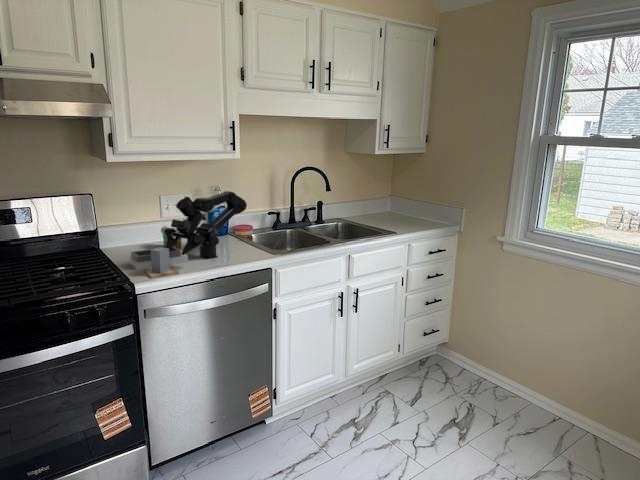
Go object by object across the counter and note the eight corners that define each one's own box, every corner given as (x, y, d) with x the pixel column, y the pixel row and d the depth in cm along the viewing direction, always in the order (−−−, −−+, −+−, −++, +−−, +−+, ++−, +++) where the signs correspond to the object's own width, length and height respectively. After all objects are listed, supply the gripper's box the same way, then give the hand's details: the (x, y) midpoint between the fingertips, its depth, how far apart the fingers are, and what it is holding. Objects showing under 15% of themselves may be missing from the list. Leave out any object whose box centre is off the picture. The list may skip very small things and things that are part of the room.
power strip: (180, 257, 212) (180, 245, 211) (188, 262, 205) (187, 250, 204) (130, 264, 199) (129, 252, 198) (136, 269, 192) (135, 257, 191)
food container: (156, 247, 228) (155, 227, 226) (166, 244, 233) (165, 225, 231) (172, 251, 221) (171, 230, 219) (183, 248, 226) (182, 228, 224)
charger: (161, 267, 193) (160, 247, 191) (170, 269, 191) (168, 248, 189) (151, 271, 189) (150, 249, 187) (160, 273, 187) (159, 251, 184)
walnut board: (170, 266, 198) (169, 265, 197) (178, 273, 189) (178, 271, 189) (143, 270, 191) (143, 269, 191) (151, 278, 183) (151, 276, 182)
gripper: (165, 209, 200) (146, 239, 193) (198, 214, 191) (179, 246, 184) (180, 224, 208) (162, 253, 202) (212, 229, 200) (194, 260, 193)
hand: (174, 253), depth 195 cm, fingers open, 9 cm apart
